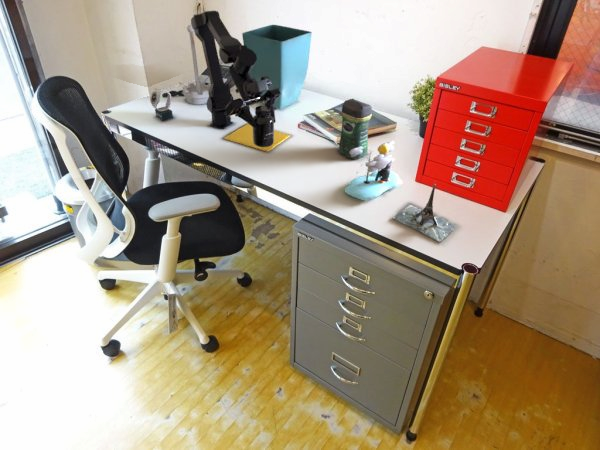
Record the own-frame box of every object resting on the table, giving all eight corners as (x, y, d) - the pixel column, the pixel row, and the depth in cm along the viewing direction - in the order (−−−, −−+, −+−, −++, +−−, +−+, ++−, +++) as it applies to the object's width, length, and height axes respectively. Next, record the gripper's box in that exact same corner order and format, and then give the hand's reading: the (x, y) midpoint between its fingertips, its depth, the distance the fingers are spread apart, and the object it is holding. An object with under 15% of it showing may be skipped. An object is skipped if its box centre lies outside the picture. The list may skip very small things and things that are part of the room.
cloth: (224, 138, 160) (224, 137, 160) (248, 124, 170) (248, 123, 170) (267, 152, 152) (267, 151, 152) (290, 135, 163) (290, 134, 162)
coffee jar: (370, 154, 152) (377, 103, 141) (355, 162, 148) (360, 109, 136) (350, 145, 157) (354, 94, 146) (334, 151, 153) (338, 100, 142)
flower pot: (274, 90, 199) (273, 23, 182) (310, 100, 190) (312, 31, 173) (245, 103, 186) (240, 32, 169) (282, 115, 177) (281, 41, 160)
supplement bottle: (271, 149, 141) (270, 113, 133) (250, 146, 142) (248, 111, 134) (276, 139, 146) (276, 105, 139) (256, 137, 147) (255, 102, 140)
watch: (151, 118, 173) (146, 90, 166) (170, 112, 178) (165, 85, 171) (158, 122, 170) (153, 94, 163) (177, 117, 174) (172, 89, 168)
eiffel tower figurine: (391, 219, 122) (398, 178, 114) (410, 204, 128) (418, 164, 120) (439, 243, 114) (451, 200, 106) (457, 226, 120) (470, 184, 112)
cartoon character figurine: (384, 171, 143) (390, 128, 134) (408, 185, 136) (417, 141, 127) (337, 190, 134) (340, 145, 124) (360, 206, 127) (366, 160, 118)
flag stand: (182, 95, 193) (171, 21, 174) (212, 92, 196) (204, 20, 178) (185, 106, 183) (174, 30, 165) (217, 103, 186) (209, 28, 168)
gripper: (227, 74, 127) (252, 122, 127) (277, 61, 137) (300, 106, 137) (215, 92, 136) (238, 138, 137) (262, 79, 146) (284, 121, 146)
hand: (265, 125), depth 139 cm, fingers closed on supplement bottle, 7 cm apart
